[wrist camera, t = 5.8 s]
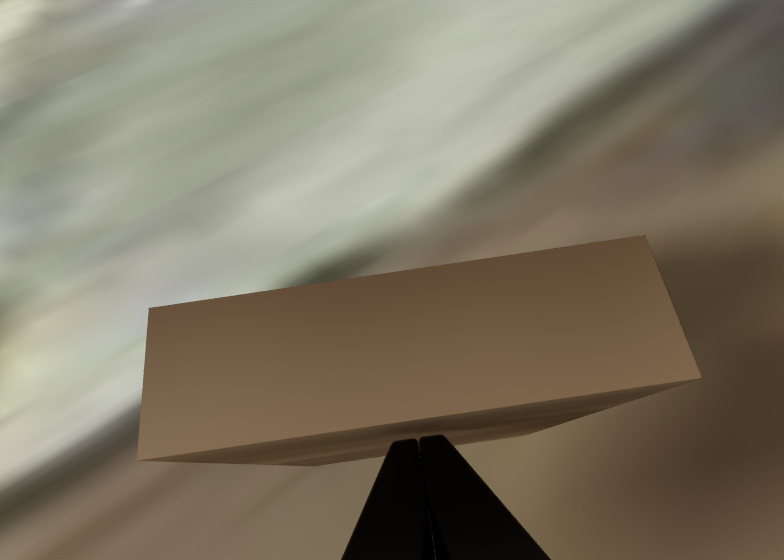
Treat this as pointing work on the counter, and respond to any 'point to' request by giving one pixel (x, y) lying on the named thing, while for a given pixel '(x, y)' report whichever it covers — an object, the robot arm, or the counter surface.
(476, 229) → the counter surface
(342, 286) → the walnut tile
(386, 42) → the counter surface
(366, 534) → the robot arm
